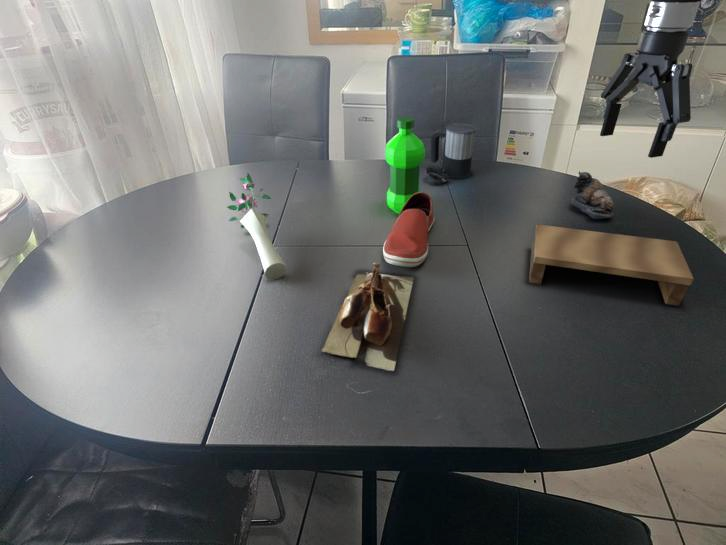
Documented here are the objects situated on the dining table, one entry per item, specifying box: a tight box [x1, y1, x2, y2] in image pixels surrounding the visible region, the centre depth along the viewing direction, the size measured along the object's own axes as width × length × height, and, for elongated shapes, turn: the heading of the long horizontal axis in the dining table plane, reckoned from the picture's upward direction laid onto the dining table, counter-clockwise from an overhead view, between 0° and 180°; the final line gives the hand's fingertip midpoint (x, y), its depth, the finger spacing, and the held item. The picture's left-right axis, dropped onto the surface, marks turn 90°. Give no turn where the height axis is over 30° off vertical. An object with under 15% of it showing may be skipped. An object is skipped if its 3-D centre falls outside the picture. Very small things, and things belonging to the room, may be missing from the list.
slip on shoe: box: [382, 191, 435, 268], centre depth 107 cm, size 11×29×9 cm, turn 162°
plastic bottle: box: [384, 116, 426, 215], centre depth 117 cm, size 10×10×25 cm
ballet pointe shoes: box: [321, 262, 415, 372], centre depth 86 cm, size 14×7×28 cm
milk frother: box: [424, 122, 477, 185], centre depth 138 cm, size 14×16×15 cm
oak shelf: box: [528, 224, 695, 307], centre depth 94 cm, size 28×14×7 cm, turn 71°
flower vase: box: [226, 172, 287, 280], centre depth 110 cm, size 12×12×35 cm
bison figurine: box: [571, 170, 615, 220], centre depth 116 cm, size 12×7×10 cm, turn 27°
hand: (629, 145), depth 92 cm, fingers open, 13 cm apart
